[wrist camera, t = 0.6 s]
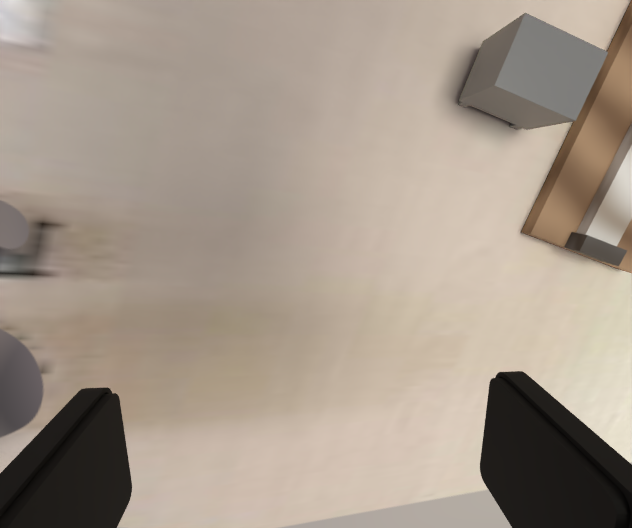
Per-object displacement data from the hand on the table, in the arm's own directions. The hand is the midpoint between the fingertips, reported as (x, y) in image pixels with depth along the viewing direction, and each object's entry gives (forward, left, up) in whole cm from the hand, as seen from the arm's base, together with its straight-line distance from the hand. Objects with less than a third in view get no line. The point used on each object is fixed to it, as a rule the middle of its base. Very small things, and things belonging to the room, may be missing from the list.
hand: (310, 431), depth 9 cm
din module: (-19, +13, -28) cm, 36 cm away
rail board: (-20, +27, -28) cm, 44 cm away
